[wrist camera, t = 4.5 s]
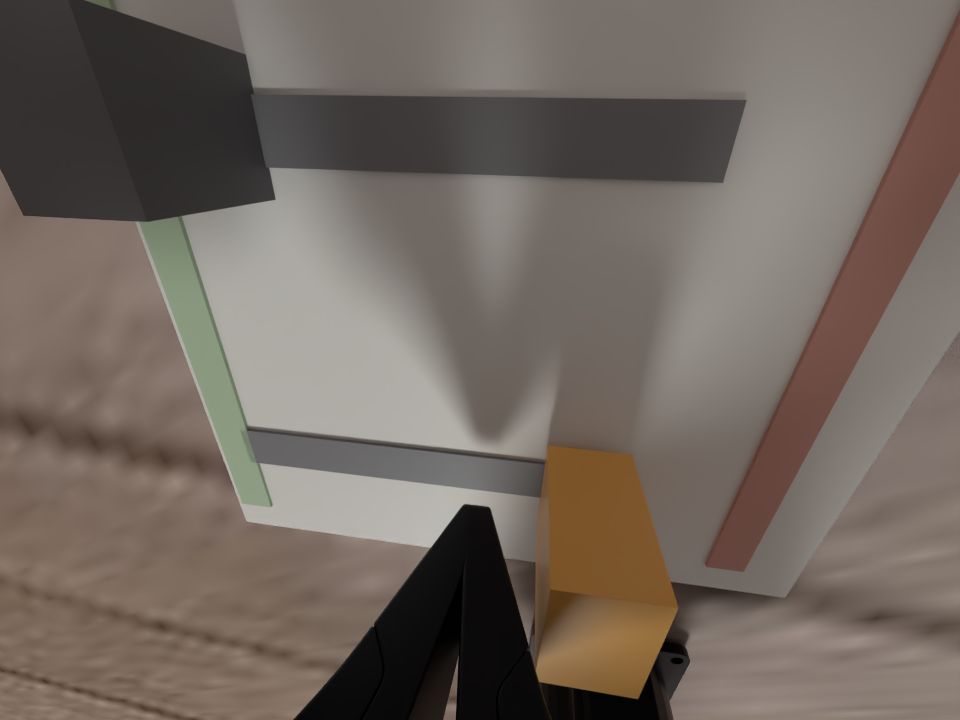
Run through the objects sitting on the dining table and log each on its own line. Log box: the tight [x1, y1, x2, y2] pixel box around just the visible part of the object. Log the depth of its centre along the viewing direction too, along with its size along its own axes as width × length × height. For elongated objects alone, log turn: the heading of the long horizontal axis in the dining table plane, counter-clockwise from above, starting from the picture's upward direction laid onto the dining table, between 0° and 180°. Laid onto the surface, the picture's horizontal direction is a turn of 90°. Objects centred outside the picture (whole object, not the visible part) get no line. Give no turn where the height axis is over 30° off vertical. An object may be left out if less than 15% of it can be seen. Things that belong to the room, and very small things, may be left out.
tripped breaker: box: [534, 445, 679, 699], centre depth 9 cm, size 3×2×4 cm, turn 178°
